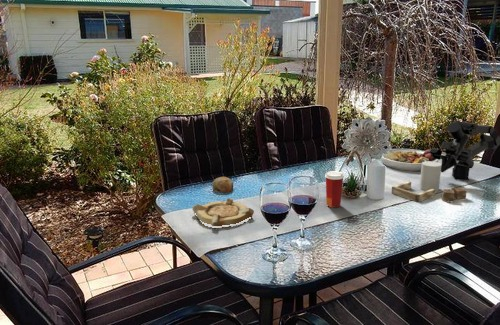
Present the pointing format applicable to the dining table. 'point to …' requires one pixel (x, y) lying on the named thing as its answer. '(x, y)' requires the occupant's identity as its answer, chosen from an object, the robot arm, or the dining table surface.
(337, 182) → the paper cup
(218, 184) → the bread roll
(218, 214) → the ashtray
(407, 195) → the open wooden frame
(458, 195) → the walnut block
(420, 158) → the bowl
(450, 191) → the walnut block
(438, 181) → the cup
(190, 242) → the dining table surface
